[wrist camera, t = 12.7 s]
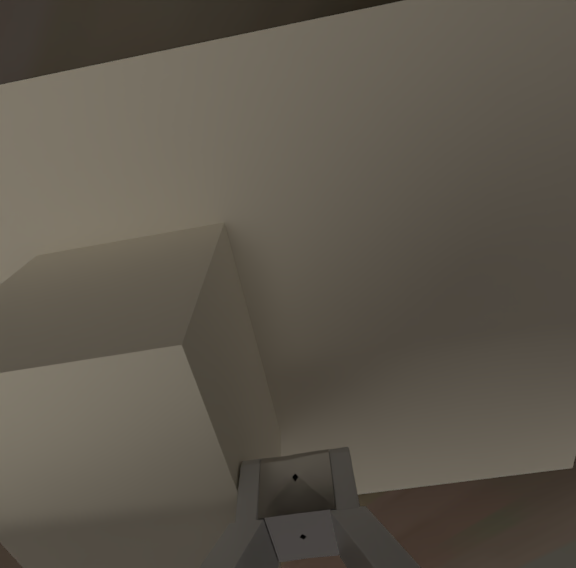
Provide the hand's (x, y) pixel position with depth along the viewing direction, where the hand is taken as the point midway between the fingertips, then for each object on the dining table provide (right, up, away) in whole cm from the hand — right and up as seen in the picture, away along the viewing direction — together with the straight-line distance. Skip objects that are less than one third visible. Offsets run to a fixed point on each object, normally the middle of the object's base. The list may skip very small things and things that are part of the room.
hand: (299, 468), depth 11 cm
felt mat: (-2, +3, +5) cm, 6 cm away
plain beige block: (-1, +1, +2) cm, 3 cm away
